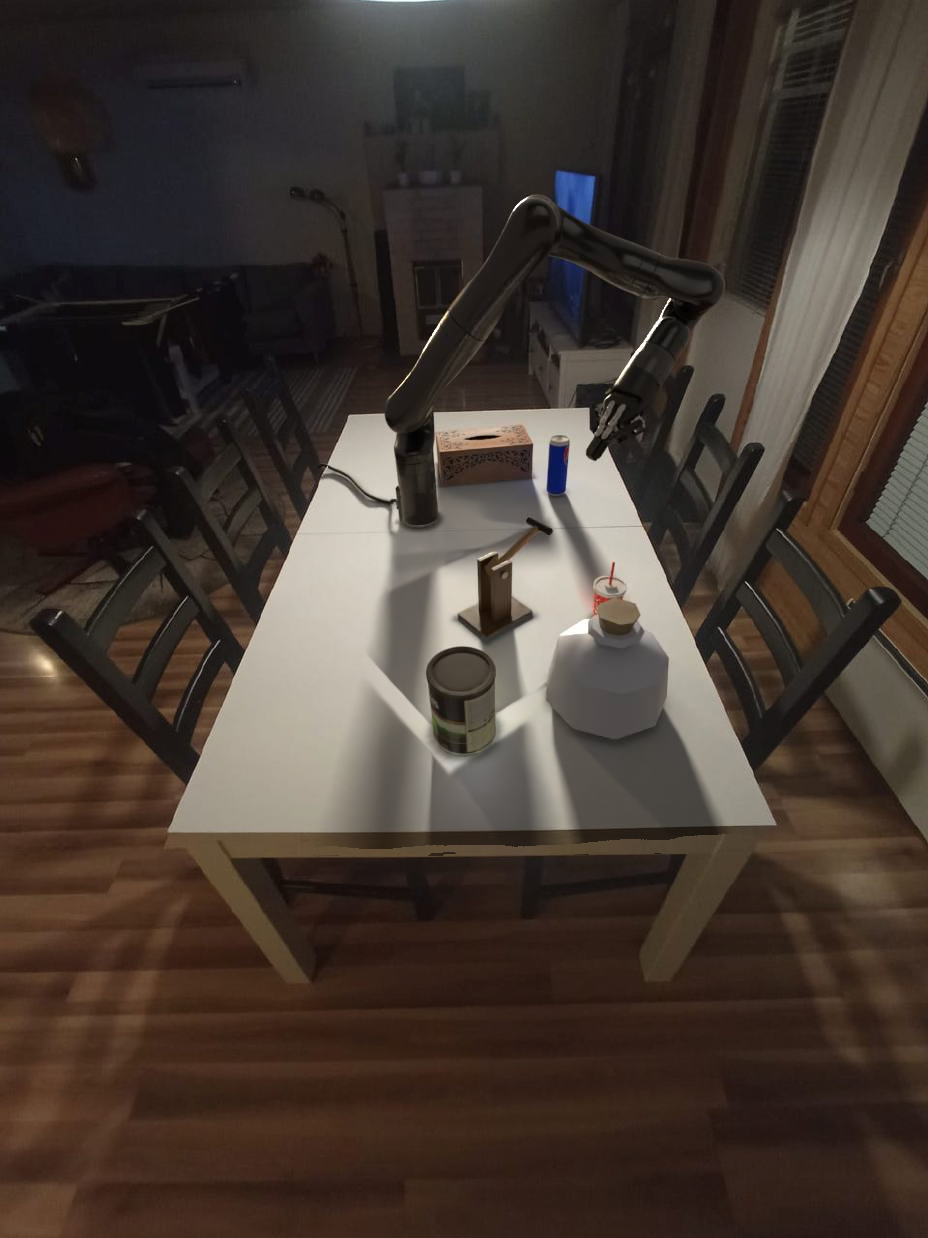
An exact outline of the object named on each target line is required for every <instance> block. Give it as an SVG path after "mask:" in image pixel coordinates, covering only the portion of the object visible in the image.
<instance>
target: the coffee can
mask: <svg viewBox="0 0 928 1238" xmlns="http://www.w3.org/2000/svg"><path fill="white" fill-rule="evenodd" d="M493 659H494V658H492V657H491V656H490V655H489V654H488V653H487V652H485V651H483V650H481V649H479V648H476V647H473V646H465V645H463V646H461V645H459V646H458V645H457V646H452V647H448V648H446V649H445V648H444V649H443V650H441V651H439V652H438V653H436V654H435V655H434V656H433V657H432V658H431V659H430V660H429V661H428V663H427V666H426V669H425V677H426V681H427V687H428V696H429V703H430V705H429V706H430V710H431V712H430V714H431V721H432V734H433V739H434V741H435V743H436V745H437V746H438V747H439V748H440V749H441V750H442V751H444V752H445V753H447V754H449V755H451V756H455V757H456V756H457V757H472V756H475V755H479V754H480V753H482V752H484V751H485V750H487V749H488V748H489V747H490V746H491V745H492V743H493V742H494V740H495V738H496V734H497V728H496V727H497V726H496V677H497V666H496V663H495V661H494V660H493Z"/></svg>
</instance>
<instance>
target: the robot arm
mask: <svg viewBox="0 0 928 1238" xmlns="http://www.w3.org/2000/svg"><path fill="white" fill-rule="evenodd" d="M547 257H551V258H552V257H553V258H556V259H561V260H564V261H567V262H570V263H572V264H575V265H577V266H579V267H581V268H582V269H585V270H587V271H589V272H590V273H592V274H593V275H595V276H597V277H599V278H600V279H602V280H603V281H605V282H607V283H609V284H611V285H613V286H614V287H617V288H618V289H621V290H623V291H625V292H627V293H630V294H632V295H635V296H637V297H640V298H642V299H646V300H647V301H648V300H650V301H654V300H658V299H661V298H666V299H668V301H667V303H666V305H665V306H664V309H663V310H662V312H661V314H660V317H659V318H658V320H657V321H656V322H655V324H654V325H653V327H652V328H651V329H650V331H649V333H648V334H647V336H646V337H645V339H644V340H643V342H642V344H641V345H640V346H639V347H638V349H637V350H636V351H635V352H634V354H633V355H632V356H631V358H630V360H629V361H628V362H627V364H626V365H625V367H624V369H623V370H622V372H621V374H620V375H619V376H618V378H617V379H616V380H615V383H614V384H613V386H612V389H611V392H610V394H609V395H608V396H607V397H606V398H605V399H604V400H603V402H602V403H599V404H595V402H592V403H590V405H589V407H588V408H589V409H588V411H589V412H588V414H589V430H590V432H591V433H592V434H593V435H594V436H593V438H592V440H591V441H590V443H589V444H588V446H587V447H586V449H585V456H586V457H587V458H588V459H589V460H591V461H593V462H596V461H598V460H599V459H600V458H601V457H602V456H603V454H604V453H605V452H606V450H607V448H608V447H609V446H611V445H616V446H620V445H622V444H624V443H625V442H628V441H629V440H631V439H633V438H635V437H637V436H638V435H640V434H642V433H644V432H646V430H647V426H646V424H645V422H644V421H643V417H644V413H645V410H646V409H648V408H649V406H650V405H651V403H652V401H653V400H654V399H655V397H656V396H657V394H658V393H659V391H660V389H661V388H662V387H663V385H664V383H665V382H666V380H667V379H668V377H669V376H670V374H671V372H672V370H673V367H674V366H675V364H676V362H677V361H678V360H679V358H680V357H681V355H682V354H683V352H684V351H685V349H686V347H687V346H688V344H689V342H690V339H691V334H692V332H693V331H694V329H695V328H696V326H697V324H698V323H699V321H700V320H701V319H702V318H703V316H704V315H706V314H707V313H708V312H709V311H710V310H712V309H713V308H714V307H715V306H716V305H717V304H718V303H719V302H720V300H722V297H723V295H724V293H725V289H726V281H725V279H724V276H723V275H722V273H721V272H720V270H718V269H717V268H716V267H715V266H712V265H711V264H708V263H706V262H703V261H699V260H693V259H686V258H679V257H670V256H669V257H668V256H666V255H664V254H662V253H660V252H658V251H655V250H653V249H651V248H647V247H646V246H643V245H640V244H638V243H636V242H633V241H630V240H627V239H625V238H622V237H620V236H617V235H614V234H612V233H609V232H606V231H604V230H601V229H599V228H597V227H595V226H594V225H591V224H589V223H587V222H585V221H584V220H581V219H579V218H578V217H577V216H574V215H573V214H571V213H570V212H569V211H567V210H566V209H564V208H563V207H561V206H560V205H558V204H557V203H555V201H553V199H551V198H549V197H548V196H546V195H544V194H531V195H529V196H527V197H525V198H524V199H522V200H521V201H520V202H519V203H518V204H517V205H516V206H515V207H514V209H513V210H512V211H511V214H510V215H509V217H508V219H507V221H506V224H505V226H504V228H503V229H502V231H501V234H500V235H499V237H498V239H497V240H496V243H495V245H494V246H493V248H492V250H491V252H490V253H489V256H488V257H487V259H486V260H485V262H484V263H483V265H482V266H481V267H480V269H479V270H478V271H477V273H476V274H475V275H474V276H473V277H472V278H471V279H470V280H469V282H468V283H467V284H466V285H465V286H464V287H463V288H462V290H461V291H460V292H459V293H458V294H457V296H456V298H455V299H454V300H453V301H452V303H451V304H450V305H449V307H448V308H447V310H446V311H445V313H444V314H443V316H442V317H441V319H440V321H439V322H438V323H437V326H436V327H435V329H434V330H433V332H432V334H431V336H430V337H429V339H428V340H427V342H426V345H425V346H424V348H423V350H422V352H421V353H420V356H419V358H418V360H417V362H416V363H415V365H414V367H413V368H412V369H411V370H410V372H409V374H408V375H407V376H406V378H404V380H403V381H402V383H401V384H400V385H399V386H398V387H397V388H396V389H395V390H394V391H392V393H391V395H389V396H388V398H387V400H386V401H385V405H384V412H383V414H384V418H385V422H386V424H387V426H388V428H389V429H390V430H391V431H392V432H394V433H395V434H396V435H395V442H394V445H393V455H394V461H395V469H396V476H397V484H398V485H397V486H395V495H396V498H391V499H389V500H388V499H383V498H380V497H377V496H375V495H373V494H370V492H368V491H366V490H365V489H364V488H363V487H362V486H361V485H360V484H359V483H358V482H357V481H356V480H355V478H354V477H353V476H351V475H350V474H348V473H347V472H345V471H343V470H341V469H338V468H336V467H334V466H331V465H329V464H327V463H324V462H321V463H319V464H318V465H317V468H318V469H321V468H322V467H325V468H327V466H328V468H327V469H328V470H330V471H333V472H335V473H338V474H340V475H342V476H344V477H346V478H347V479H349V480H350V481H351V482H352V484H353V485H354V486H355V487H356V488H357V490H359V491H360V493H362V494H363V495H364V496H365V497H366V498H369V499H371V500H374V501H376V502H377V503H383V504H386V505H393V504H394V503H395V505H396V510H397V512H398V518H399V522H400V523H402V524H403V525H404V526H405V527H407V528H410V529H415V530H423V529H428V528H431V527H433V526H435V525H436V524H437V523H438V522H439V520H440V513H439V502H438V492H437V491H438V490H437V480H436V479H437V478H436V466H435V452H434V446H435V441H436V433H435V432H436V430H435V429H436V428H435V412H434V411H435V410H434V404H435V402H436V401H437V398H439V396H440V395H441V393H442V392H443V391H444V390H445V389H446V387H447V386H448V385H449V384H450V383H451V382H452V381H453V380H454V379H455V378H456V377H457V376H458V375H459V374H460V372H462V371H463V370H464V369H465V367H466V366H467V365H468V363H470V361H471V360H472V359H473V358H474V357H475V355H477V353H478V351H479V350H480V349H481V347H483V345H484V343H485V342H486V340H487V339H488V338H489V336H490V334H491V333H492V331H493V330H494V328H495V327H496V325H497V324H498V322H499V321H500V319H501V317H502V316H503V313H504V312H505V310H506V309H507V306H508V305H509V303H510V301H511V299H512V298H513V296H514V295H515V293H516V292H517V291H518V289H519V288H520V287H521V286H522V284H523V283H524V282H525V281H526V280H527V279H528V278H529V277H530V275H532V273H533V272H534V271H535V270H536V268H538V266H539V265H541V263H542V262H544V260H545V259H546V258H547Z"/></svg>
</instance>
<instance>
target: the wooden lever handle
mask: <svg viewBox="0 0 928 1238" xmlns="http://www.w3.org/2000/svg"><path fill="white" fill-rule="evenodd" d="M525 524H526V525H528V526H530V527H531V528H530V529H528V530H527V531H526V532H525V533H524V534H523V535H522V537H520V538H519V539H518V540H517V541H516V542H515V543H514V544H513V545H511V547H510V548H509V549H508V550H507V551H505V553H503V555H501V557H499V558H498V559H496V558H495V557H494V558H493V559H492V560H491V561H490V562H489V563H488V564H486V565H485V566H484V568H485V570H486V572H487V574H488V575H489V576H491V568H493V567H495V566H497V565H499V564H501V563H503V562H505V561H508V560H510V561H511V559H512V558H513V557H514V556H515V555H516V554H517V553H518V552H520V550H521V549H522V548H523V547H524V546H525V545H526V544H527V543H528V542H530V541H531V540H532V539H533V538H534V537H535V536H536V535H537V534H539V532H540V533H542V534H544V535H546V536H548V537H550V536H552V534H553V532H554V528H553V527H550V526H549V525H547V524H545V523H543V522H542V521H540V520H538V519H536V518H535V517H532V516H531V515H529V516H527V517H526V519H525Z"/></svg>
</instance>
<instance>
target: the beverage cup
mask: <svg viewBox="0 0 928 1238" xmlns="http://www.w3.org/2000/svg"><path fill="white" fill-rule="evenodd" d="M615 566H616V562H615V561H612V563H611V569H610V575H602V576H599V577H597V578H595V580H594V581H593V587H592V588H593V604H592V605H593V606H592V617H594V616H595V615H597V614H598V611H597V605H599V604H601V603H604V602H606V601H608V600H610V599H613V598H619V599H622V600H624V597H625V594H626V592H627V589H628V585H627V583H626V582H625V580H623V579H622V578H620V577H618V576H615V575H614V571H615Z"/></svg>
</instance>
